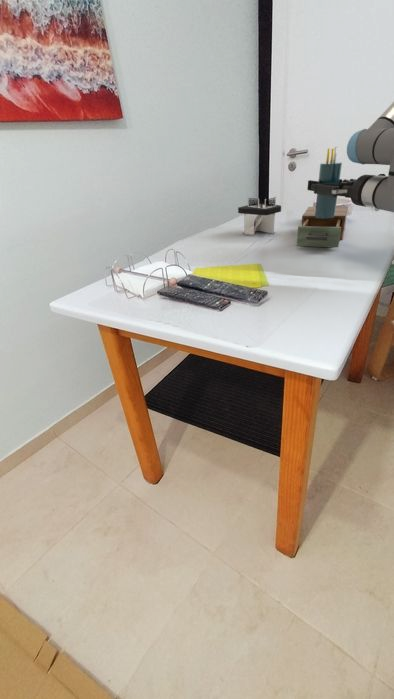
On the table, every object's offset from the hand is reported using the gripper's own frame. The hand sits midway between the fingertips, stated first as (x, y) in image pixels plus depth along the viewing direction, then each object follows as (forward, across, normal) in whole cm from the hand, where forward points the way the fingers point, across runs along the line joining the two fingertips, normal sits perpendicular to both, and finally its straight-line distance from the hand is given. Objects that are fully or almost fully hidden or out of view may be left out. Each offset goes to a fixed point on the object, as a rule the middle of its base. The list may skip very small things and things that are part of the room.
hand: (318, 183), depth 106 cm
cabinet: (+6, +9, -18) cm, 21 cm away
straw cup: (-5, 0, -9) cm, 10 cm away
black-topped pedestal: (+19, -10, -18) cm, 29 cm away
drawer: (-5, -1, -17) cm, 18 cm away
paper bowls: (+20, +22, -18) cm, 35 cm away
